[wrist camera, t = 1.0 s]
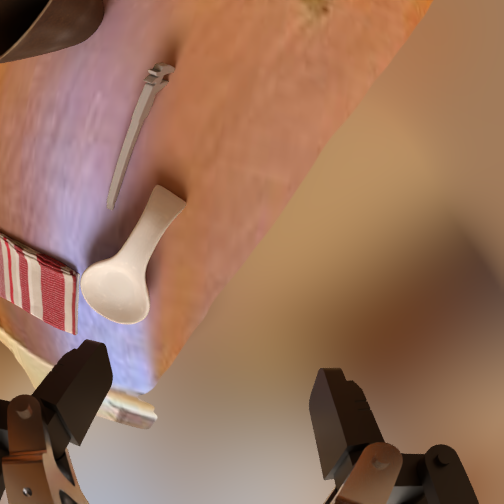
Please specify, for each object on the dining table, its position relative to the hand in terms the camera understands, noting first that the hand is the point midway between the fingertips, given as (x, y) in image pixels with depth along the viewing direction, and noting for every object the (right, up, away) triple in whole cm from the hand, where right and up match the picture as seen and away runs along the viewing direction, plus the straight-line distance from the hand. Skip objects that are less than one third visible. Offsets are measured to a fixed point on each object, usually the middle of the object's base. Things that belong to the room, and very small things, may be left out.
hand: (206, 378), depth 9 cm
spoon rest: (-16, +4, +29) cm, 33 cm away
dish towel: (-40, -1, +31) cm, 51 cm away
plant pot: (-21, +35, +11) cm, 42 cm away
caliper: (-13, +19, +21) cm, 31 cm away
